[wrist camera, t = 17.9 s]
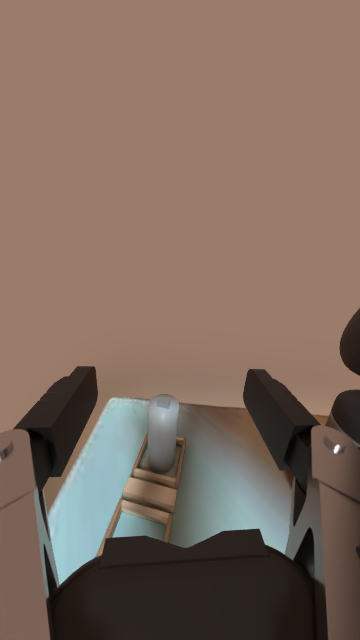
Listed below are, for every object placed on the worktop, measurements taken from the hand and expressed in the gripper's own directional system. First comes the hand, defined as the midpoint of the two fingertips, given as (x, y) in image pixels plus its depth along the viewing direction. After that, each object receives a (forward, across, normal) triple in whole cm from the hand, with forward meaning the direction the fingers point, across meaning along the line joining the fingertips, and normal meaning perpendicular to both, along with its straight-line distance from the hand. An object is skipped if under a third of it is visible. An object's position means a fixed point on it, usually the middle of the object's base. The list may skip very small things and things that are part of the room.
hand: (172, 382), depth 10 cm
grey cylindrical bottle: (+17, 0, +30) cm, 34 cm away
